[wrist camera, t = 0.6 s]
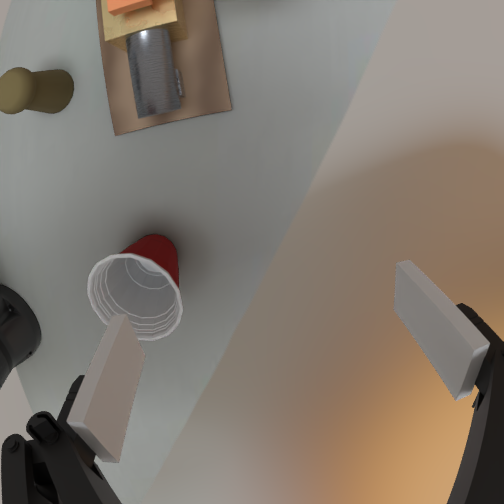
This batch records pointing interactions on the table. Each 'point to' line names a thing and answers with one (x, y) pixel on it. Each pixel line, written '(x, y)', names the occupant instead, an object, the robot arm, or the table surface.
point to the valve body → (150, 52)
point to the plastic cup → (139, 287)
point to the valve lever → (126, 5)
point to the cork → (35, 90)
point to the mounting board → (185, 60)
